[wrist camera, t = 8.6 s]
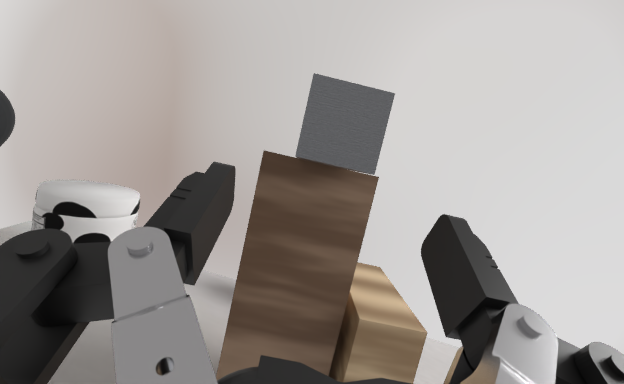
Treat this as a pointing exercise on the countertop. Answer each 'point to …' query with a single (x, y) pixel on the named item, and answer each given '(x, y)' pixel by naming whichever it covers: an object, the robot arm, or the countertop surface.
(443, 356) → the countertop surface
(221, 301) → the countertop surface
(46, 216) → the spotted cookie jar
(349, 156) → the gray metal block
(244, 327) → the stand
